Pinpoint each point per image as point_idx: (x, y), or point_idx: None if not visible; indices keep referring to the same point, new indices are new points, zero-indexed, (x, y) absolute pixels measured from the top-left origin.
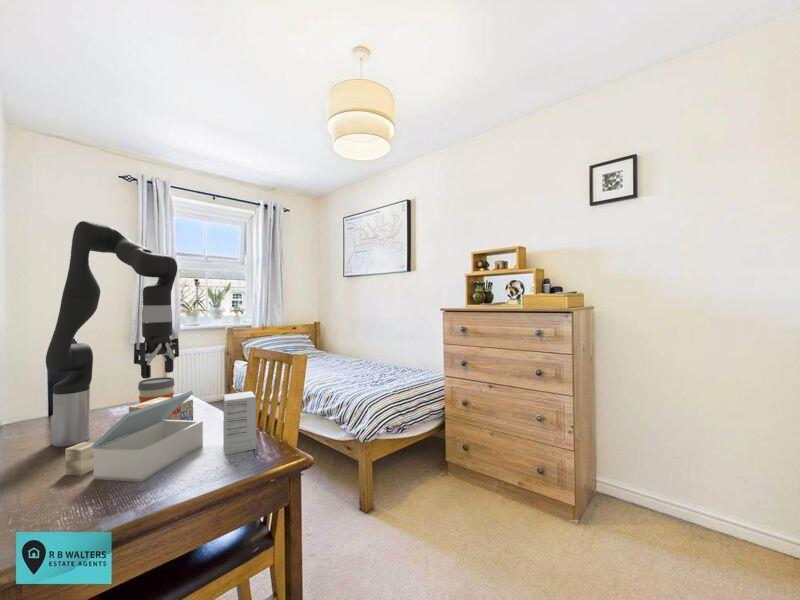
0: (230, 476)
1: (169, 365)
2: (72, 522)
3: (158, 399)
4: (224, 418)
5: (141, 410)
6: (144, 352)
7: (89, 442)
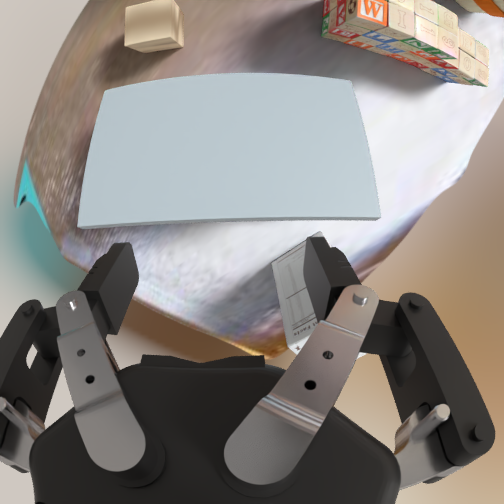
0: (199, 309)
1: (314, 294)
2: (52, 204)
3: (439, 20)
4: (297, 299)
5: (122, 225)
6: (42, 410)
7: (168, 13)
